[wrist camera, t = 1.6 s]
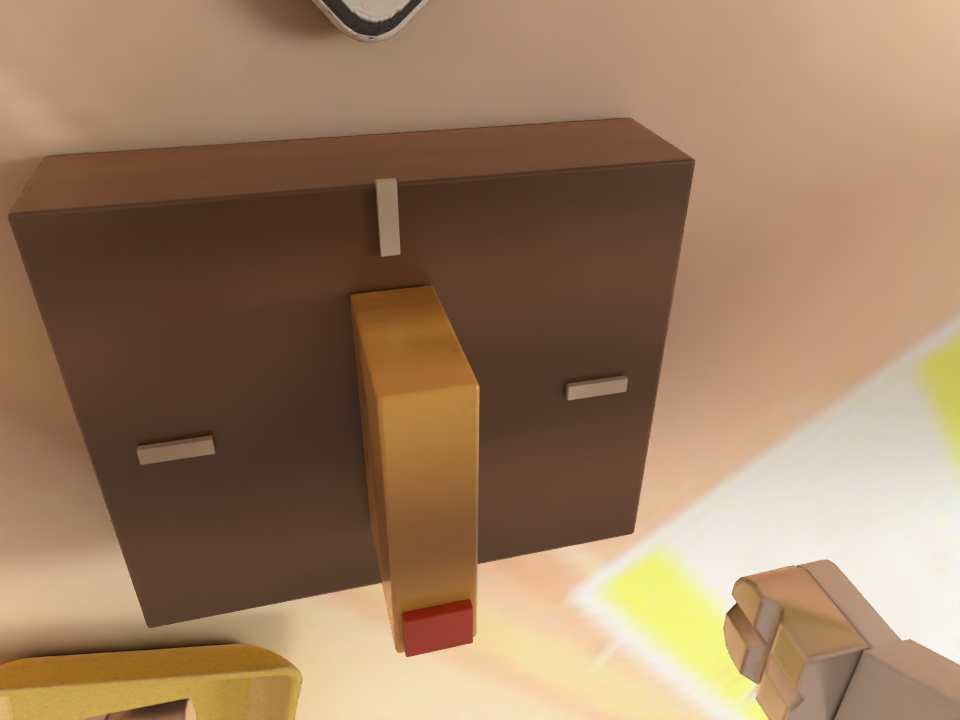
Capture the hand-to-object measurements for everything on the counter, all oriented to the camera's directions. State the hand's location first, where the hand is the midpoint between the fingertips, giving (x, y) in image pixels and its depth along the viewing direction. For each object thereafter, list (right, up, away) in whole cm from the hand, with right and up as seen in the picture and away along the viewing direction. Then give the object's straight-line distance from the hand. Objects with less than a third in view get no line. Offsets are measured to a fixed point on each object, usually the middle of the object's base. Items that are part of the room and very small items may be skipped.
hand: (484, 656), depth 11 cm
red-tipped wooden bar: (-2, +3, +5) cm, 6 cm away
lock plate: (-3, +5, +7) cm, 9 cm away
